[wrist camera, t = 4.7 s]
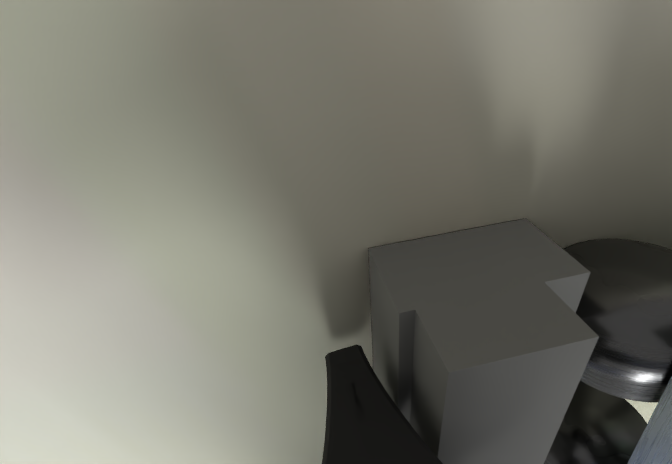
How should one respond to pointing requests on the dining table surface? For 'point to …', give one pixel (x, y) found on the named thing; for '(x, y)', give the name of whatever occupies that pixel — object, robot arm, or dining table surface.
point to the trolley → (622, 358)
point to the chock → (480, 339)
